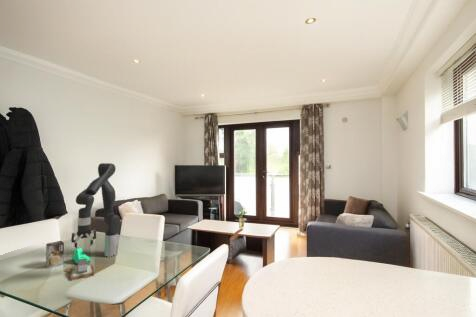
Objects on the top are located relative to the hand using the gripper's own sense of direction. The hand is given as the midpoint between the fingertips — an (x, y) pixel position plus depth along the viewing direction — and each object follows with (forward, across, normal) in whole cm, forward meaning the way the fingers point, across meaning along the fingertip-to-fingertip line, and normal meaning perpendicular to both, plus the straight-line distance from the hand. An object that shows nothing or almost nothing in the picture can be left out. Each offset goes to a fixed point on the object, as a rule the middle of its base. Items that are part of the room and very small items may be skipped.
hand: (83, 246), depth 164 cm
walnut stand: (+19, +1, 0) cm, 19 cm away
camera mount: (+20, -1, -20) cm, 29 cm away
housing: (+17, 0, 0) cm, 17 cm away
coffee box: (+19, +16, -22) cm, 33 cm away
